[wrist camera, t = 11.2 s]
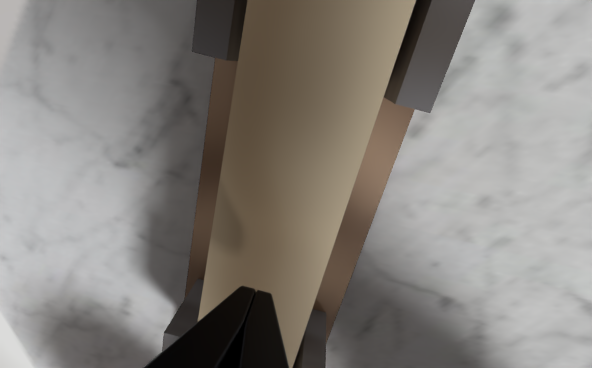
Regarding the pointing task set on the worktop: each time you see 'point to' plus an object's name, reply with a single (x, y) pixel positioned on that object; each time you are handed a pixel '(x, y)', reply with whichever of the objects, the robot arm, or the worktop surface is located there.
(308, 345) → the frame
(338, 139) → the beige wooden bar
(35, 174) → the worktop surface
